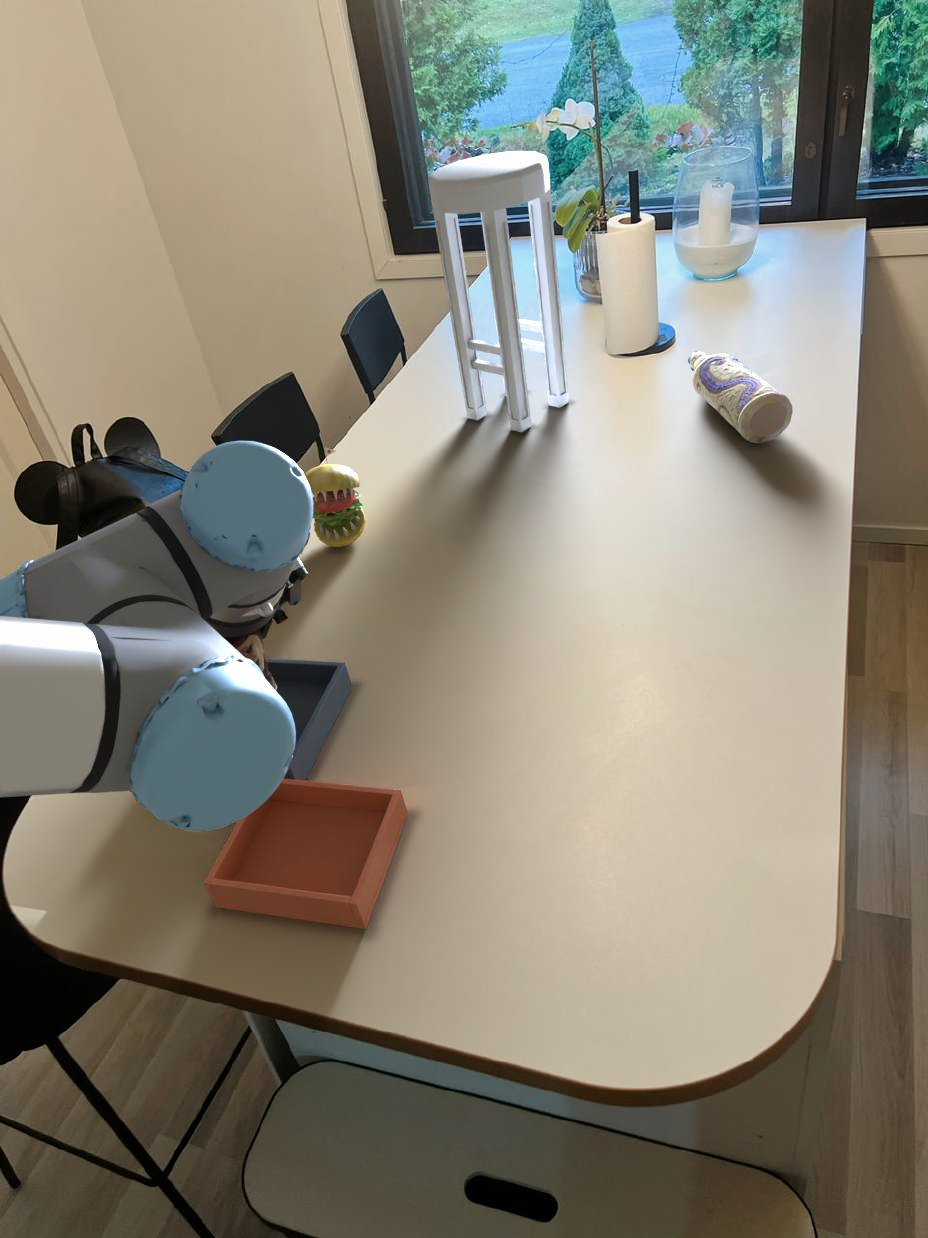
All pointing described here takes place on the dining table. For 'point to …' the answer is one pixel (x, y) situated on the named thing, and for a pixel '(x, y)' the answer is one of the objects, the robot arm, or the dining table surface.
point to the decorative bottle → (740, 396)
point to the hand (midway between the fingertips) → (216, 648)
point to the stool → (501, 275)
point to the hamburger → (336, 503)
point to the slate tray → (310, 705)
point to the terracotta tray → (311, 853)
